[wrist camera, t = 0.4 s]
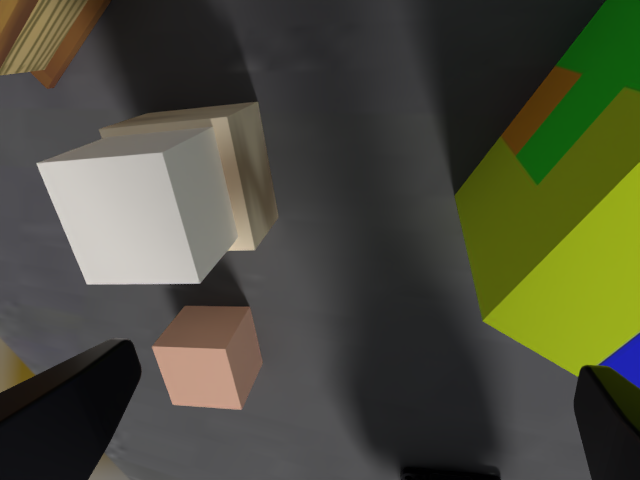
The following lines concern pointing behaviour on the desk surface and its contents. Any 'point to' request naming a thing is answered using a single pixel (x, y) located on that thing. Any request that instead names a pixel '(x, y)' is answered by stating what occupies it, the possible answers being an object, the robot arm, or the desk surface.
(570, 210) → the puzzle toy
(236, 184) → the tower base
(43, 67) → the diary
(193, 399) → the cube
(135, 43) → the desk surface
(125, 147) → the tower top
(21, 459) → the robot arm
